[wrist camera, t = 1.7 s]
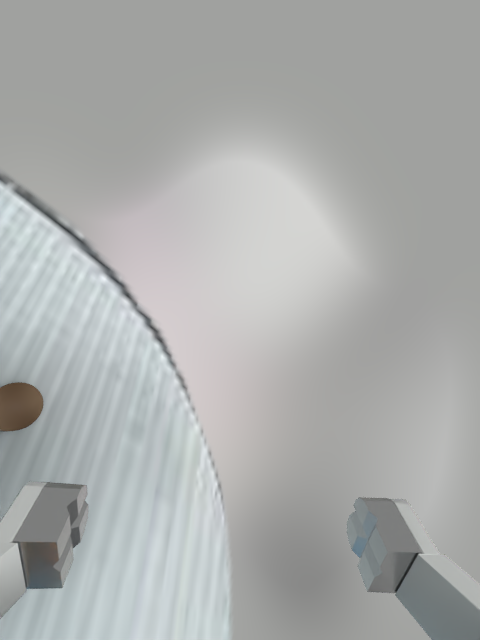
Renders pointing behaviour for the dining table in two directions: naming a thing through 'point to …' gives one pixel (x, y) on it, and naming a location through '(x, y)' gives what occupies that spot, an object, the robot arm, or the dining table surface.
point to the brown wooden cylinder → (19, 406)
